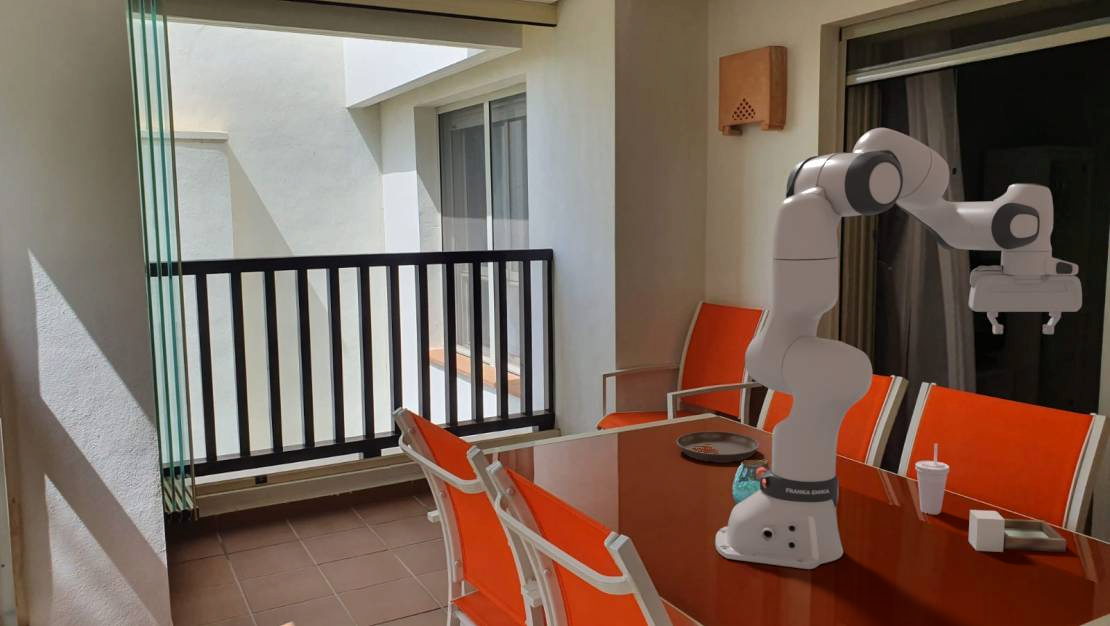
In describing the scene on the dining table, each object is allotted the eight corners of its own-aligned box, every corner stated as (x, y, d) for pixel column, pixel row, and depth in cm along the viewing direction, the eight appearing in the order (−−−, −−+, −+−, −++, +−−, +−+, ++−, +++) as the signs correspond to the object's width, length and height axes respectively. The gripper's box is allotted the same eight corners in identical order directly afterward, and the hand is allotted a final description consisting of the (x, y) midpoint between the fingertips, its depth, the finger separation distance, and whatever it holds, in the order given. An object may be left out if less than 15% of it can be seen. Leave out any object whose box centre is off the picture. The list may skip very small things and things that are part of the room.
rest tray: (1005, 549, 153) (1005, 537, 153) (987, 529, 163) (987, 518, 163) (1065, 552, 152) (1066, 540, 152) (1043, 531, 162) (1044, 520, 161)
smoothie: (951, 517, 170) (954, 449, 168) (917, 515, 171) (919, 447, 169) (943, 506, 176) (946, 440, 174) (910, 505, 177) (912, 439, 176)
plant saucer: (767, 465, 207) (767, 452, 207) (682, 466, 208) (682, 452, 207) (749, 443, 228) (749, 431, 228) (671, 443, 228) (671, 431, 228)
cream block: (976, 550, 153) (977, 518, 152) (968, 541, 158) (969, 509, 157) (1003, 552, 152) (1004, 519, 152) (994, 542, 157) (996, 511, 156)
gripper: (975, 266, 169) (972, 335, 171) (1087, 265, 166) (1083, 336, 167) (965, 264, 176) (963, 331, 177) (1073, 263, 172) (1070, 331, 174)
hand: (1022, 333), depth 172 cm, fingers open, 8 cm apart
